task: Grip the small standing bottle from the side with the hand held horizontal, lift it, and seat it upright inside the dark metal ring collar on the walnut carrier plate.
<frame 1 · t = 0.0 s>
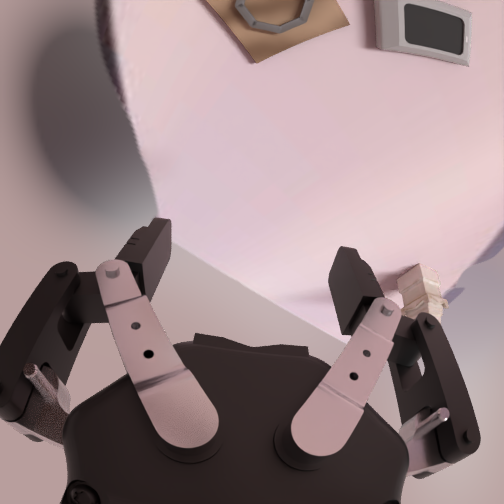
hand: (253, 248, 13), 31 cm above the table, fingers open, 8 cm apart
miniature monument: (417, 274, 69), on the table
grey flat boxy piece: (421, 24, 21), on the table
carrier plate: (274, 0, 23), on the table
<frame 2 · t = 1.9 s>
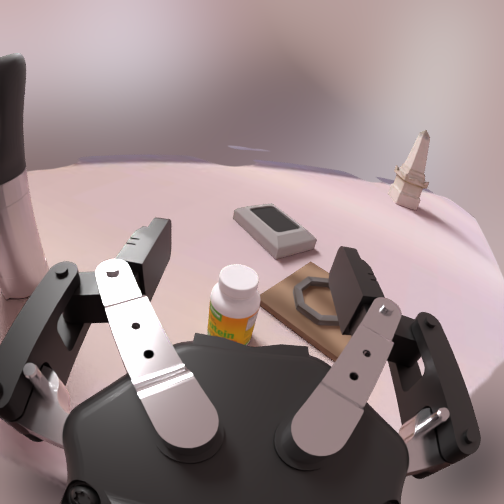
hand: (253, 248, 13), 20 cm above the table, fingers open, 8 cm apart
supplement bottle: (228, 336, 33), on the table
miniature monument: (401, 202, 92), on the table
grey flat boxy piece: (271, 235, 55), on the table
carrier plate: (321, 307, 40), on the table
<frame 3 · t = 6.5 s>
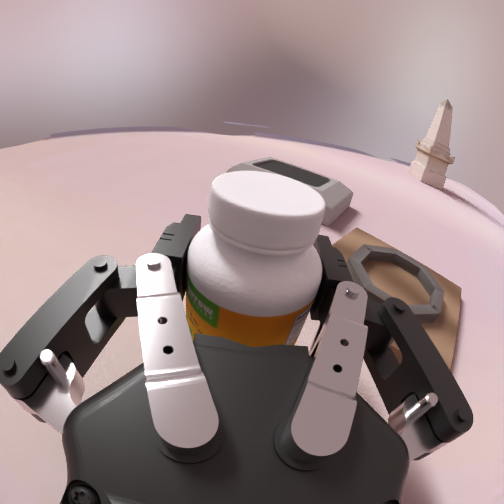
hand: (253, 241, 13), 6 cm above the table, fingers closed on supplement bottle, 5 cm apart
supplement bottle: (235, 359, 15), on the table, touching gripper
miniature monument: (424, 181, 75), on the table
grey flat boxy piece: (288, 198, 37), on the table
carrier plate: (390, 293, 22), on the table
when the fingers open (8 cm above the table, at t = 11.9 s): supplement bottle stays where it is, resting on carrier plate.
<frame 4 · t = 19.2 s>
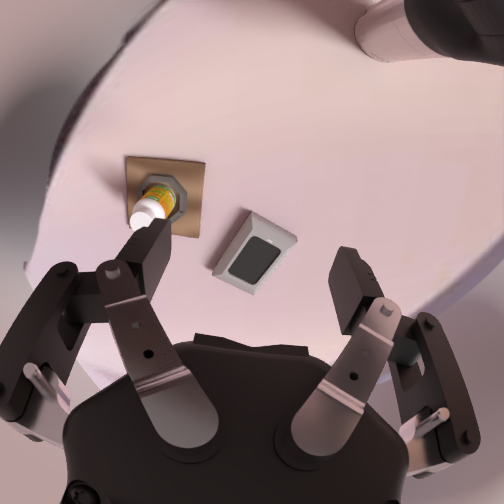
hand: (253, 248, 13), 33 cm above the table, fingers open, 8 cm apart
supplement bottle: (162, 197, 46), point 1 cm above the table, touching carrier plate
grey flat boxy piece: (253, 251, 53), on the table
carrier plate: (164, 196, 47), on the table
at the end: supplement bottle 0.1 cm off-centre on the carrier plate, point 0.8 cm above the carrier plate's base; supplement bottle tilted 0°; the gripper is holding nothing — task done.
